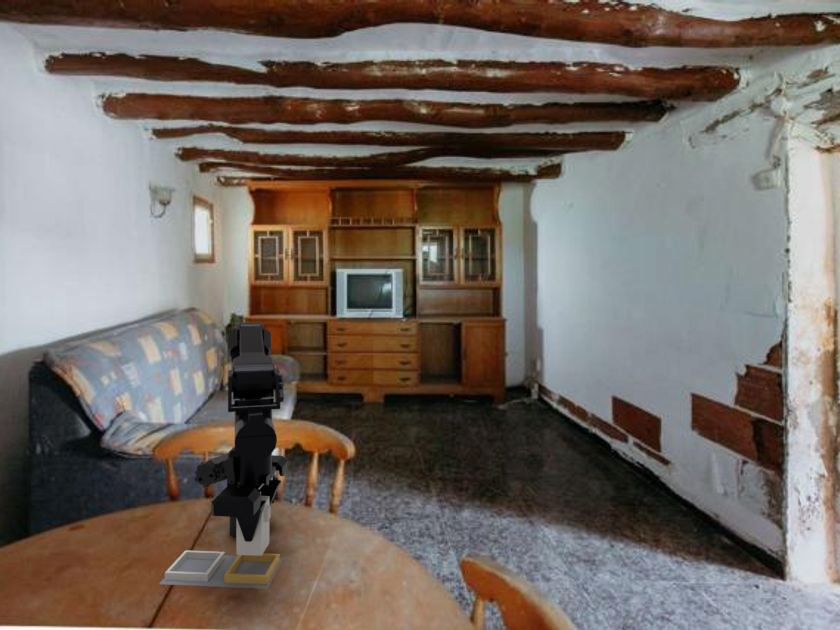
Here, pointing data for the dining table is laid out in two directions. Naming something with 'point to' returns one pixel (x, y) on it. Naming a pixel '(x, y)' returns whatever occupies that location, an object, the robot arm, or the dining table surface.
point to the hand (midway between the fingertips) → (253, 534)
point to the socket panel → (223, 570)
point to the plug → (260, 537)
